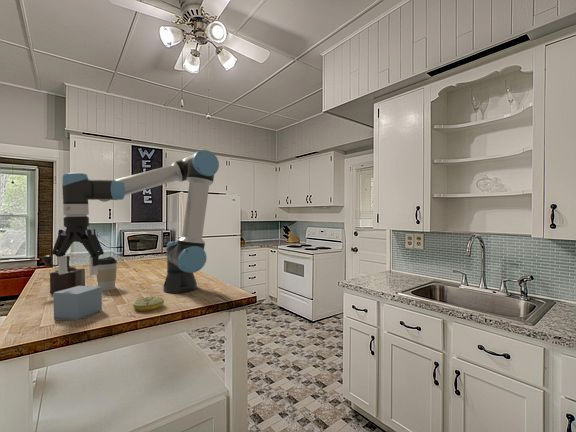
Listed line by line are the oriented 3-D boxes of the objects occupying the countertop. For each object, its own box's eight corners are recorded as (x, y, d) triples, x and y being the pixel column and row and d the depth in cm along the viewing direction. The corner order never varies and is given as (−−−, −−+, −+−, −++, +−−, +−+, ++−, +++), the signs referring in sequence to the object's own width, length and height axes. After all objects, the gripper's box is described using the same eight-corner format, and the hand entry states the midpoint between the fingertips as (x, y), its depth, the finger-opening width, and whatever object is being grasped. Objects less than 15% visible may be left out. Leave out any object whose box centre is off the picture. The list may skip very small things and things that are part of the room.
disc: (109, 308, 115) (109, 308, 115) (76, 322, 101) (76, 321, 101) (79, 306, 118) (79, 306, 118) (43, 319, 104) (43, 318, 104)
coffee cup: (110, 291, 141) (109, 259, 141) (91, 291, 142) (90, 259, 141) (121, 286, 151) (120, 256, 150) (103, 286, 151) (103, 256, 151)
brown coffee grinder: (62, 287, 149) (61, 251, 149) (86, 287, 150) (85, 251, 150) (39, 296, 133) (39, 256, 133) (66, 295, 135) (66, 255, 134)
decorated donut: (150, 303, 123) (150, 294, 123) (169, 306, 118) (169, 296, 118) (127, 310, 114) (127, 300, 114) (147, 314, 109) (147, 304, 109)
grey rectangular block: (101, 310, 114) (101, 286, 114) (77, 319, 104) (77, 294, 104) (79, 308, 116) (79, 285, 116) (53, 317, 106) (53, 292, 106)
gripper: (38, 216, 108) (40, 275, 109) (96, 215, 103) (98, 277, 103) (58, 216, 116) (60, 271, 116) (113, 215, 110) (115, 273, 111)
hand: (78, 274), depth 110 cm, fingers open, 13 cm apart
